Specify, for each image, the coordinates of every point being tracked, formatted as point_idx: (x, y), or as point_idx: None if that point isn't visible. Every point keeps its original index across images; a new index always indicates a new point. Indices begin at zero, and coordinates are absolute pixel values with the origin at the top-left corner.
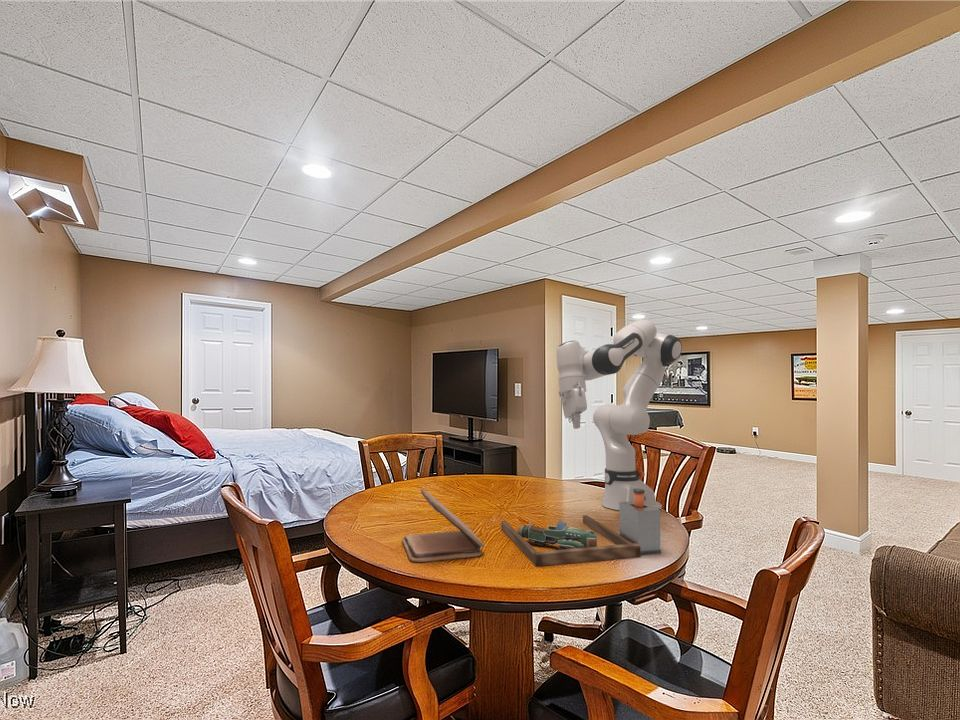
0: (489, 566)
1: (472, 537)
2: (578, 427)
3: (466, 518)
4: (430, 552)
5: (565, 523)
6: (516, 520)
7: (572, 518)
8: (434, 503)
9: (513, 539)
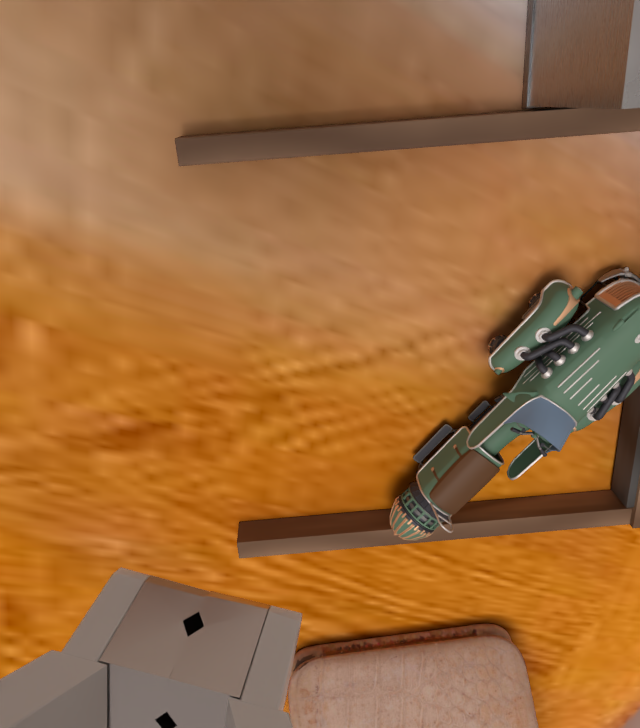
0: (588, 614)
1: (531, 699)
2: (297, 636)
3: None
4: None
5: (513, 396)
6: (123, 462)
7: (93, 187)
8: None
9: None
